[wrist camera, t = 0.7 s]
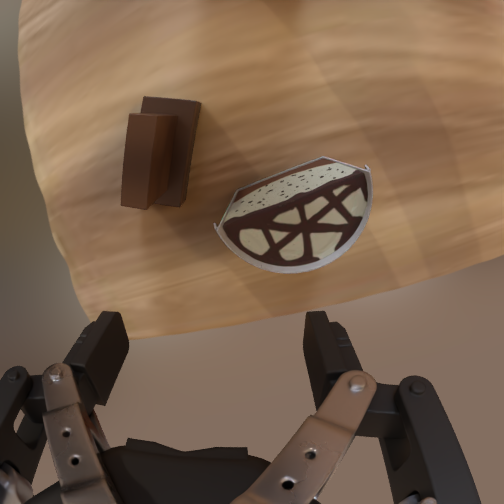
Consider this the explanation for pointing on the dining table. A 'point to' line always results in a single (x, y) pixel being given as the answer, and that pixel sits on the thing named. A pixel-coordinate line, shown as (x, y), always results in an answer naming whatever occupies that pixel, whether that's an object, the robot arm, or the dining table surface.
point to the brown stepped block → (159, 152)
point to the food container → (299, 216)
